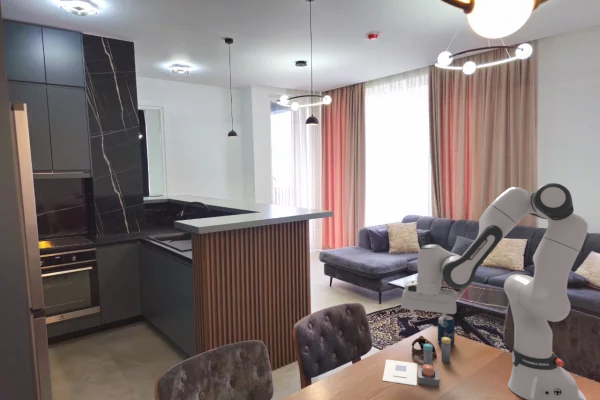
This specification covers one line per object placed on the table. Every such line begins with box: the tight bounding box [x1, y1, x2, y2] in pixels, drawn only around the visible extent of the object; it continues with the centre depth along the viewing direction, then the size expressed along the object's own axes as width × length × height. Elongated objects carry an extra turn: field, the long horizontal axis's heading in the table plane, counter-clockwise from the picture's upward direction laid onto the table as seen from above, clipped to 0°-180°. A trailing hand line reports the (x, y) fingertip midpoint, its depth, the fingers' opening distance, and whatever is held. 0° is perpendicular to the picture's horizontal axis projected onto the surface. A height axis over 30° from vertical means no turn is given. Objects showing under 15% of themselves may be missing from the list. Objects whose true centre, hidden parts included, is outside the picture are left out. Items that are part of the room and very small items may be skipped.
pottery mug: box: [411, 335, 438, 358], centre depth 158 cm, size 12×10×8 cm
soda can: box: [437, 314, 456, 347], centre depth 167 cm, size 7×7×12 cm
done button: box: [422, 364, 435, 378], centre depth 138 cm, size 4×4×4 cm
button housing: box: [417, 367, 440, 388], centre depth 138 cm, size 7×7×2 cm
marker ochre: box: [441, 337, 451, 363], centre depth 152 cm, size 3×3×9 cm
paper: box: [382, 359, 418, 387], centre depth 144 cm, size 12×16×1 cm
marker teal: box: [423, 344, 433, 366], centre depth 147 cm, size 3×3×9 cm
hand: (427, 321), depth 146 cm, fingers open, 8 cm apart
